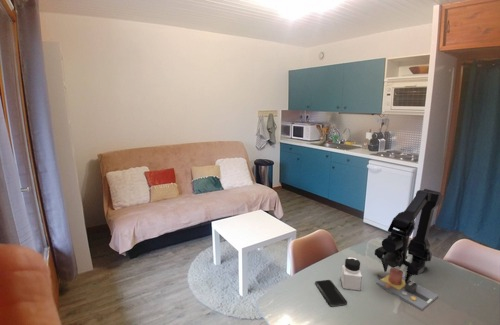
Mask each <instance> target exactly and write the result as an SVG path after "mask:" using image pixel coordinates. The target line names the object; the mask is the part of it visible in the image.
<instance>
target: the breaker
mask: <svg viewBox="0 0 500 325" xmlns="http://www.w3.org/2000/svg"><path fill="white" fill-rule="evenodd" d="M417 284H418V283H416V282H415V281H414V280H410V281H408V282H407V283H405V289H404V290H406V291H408V292H410V293H413V292H415V291H416V288H417Z"/></svg>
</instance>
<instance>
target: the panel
mask: <svg viewBox="0 0 500 325" xmlns="http://www.w3.org/2000/svg"><path fill="white" fill-rule="evenodd" d="M388 278H389V274H387V275H385V276H384V277H382V278H380V279H379V280H377V281H376V282H375V284H376V285H377V286H378V287H380V288H382V289H384V290H385V291H387V292H389V293H391V294H392V295H393V296H396V297H397V298H399V299H401V300H402V301H404V302H406V303H408V304H409V305H410V306H413V307H414V308H416V309H417V310H419V311H421V312H422V311H424V310H425V309H426V308H428V307H429V306H430V304H432V303H433V302H435V301H436V299H438V298H439V294H437V293H435V292H432V291H431V290H430V289H428V288H425V287H424V286H422V285H420V284H418V283H416V284H417V288H416V291H415V292H413V293H410V292H408V291H406V290H404V289H405V279H406V277H405V276H402V284H401V285H394V284H392V283H390V282H389V281H388ZM409 281H411V280H410V279H409Z"/></svg>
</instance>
